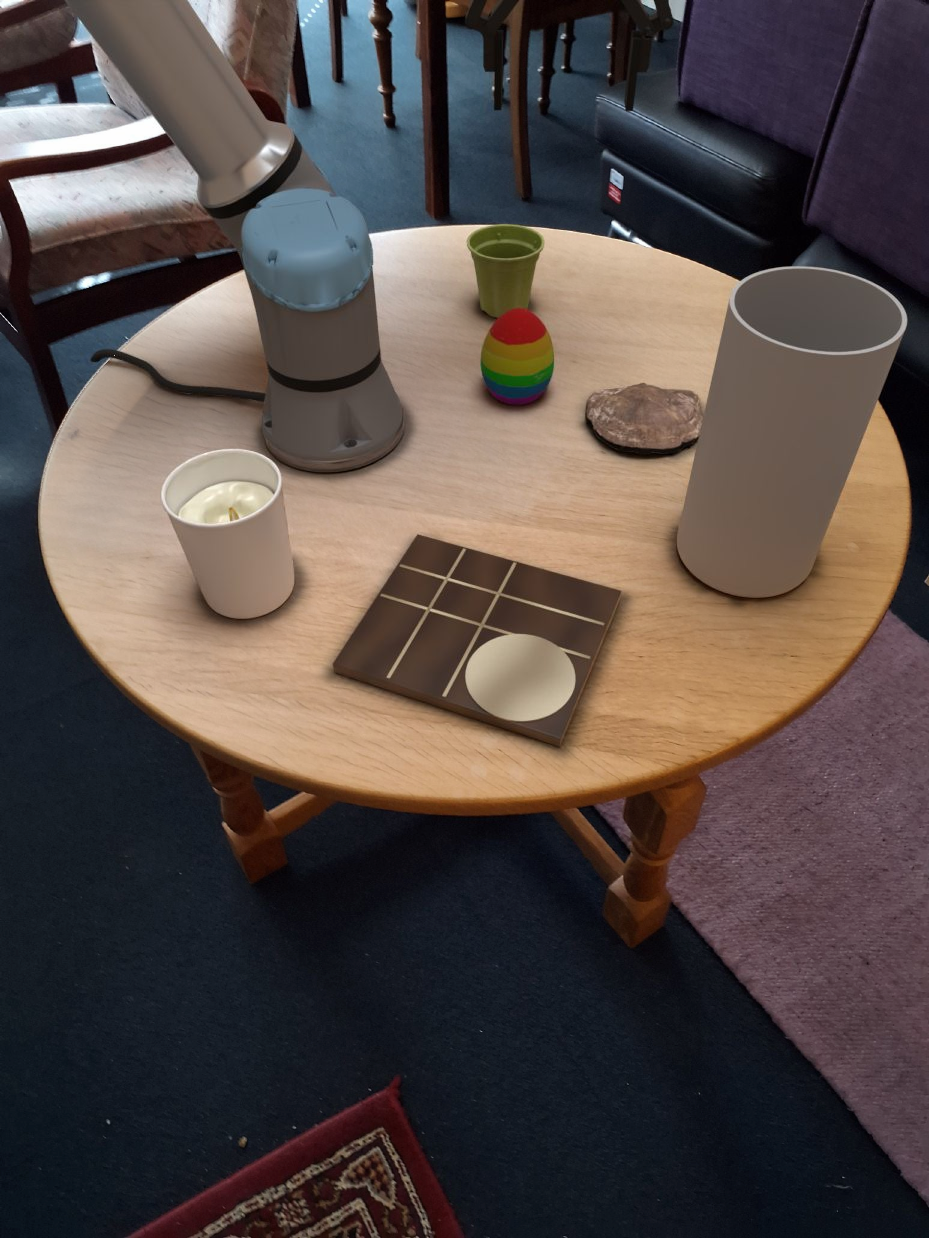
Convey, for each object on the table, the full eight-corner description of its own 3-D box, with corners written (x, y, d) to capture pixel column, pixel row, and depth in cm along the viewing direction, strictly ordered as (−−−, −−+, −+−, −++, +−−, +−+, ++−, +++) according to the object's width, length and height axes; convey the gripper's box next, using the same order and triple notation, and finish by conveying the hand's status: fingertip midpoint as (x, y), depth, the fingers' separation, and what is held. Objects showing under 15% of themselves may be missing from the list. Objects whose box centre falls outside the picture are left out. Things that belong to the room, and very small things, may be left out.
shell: (707, 461, 93) (714, 433, 90) (585, 456, 94) (588, 428, 91) (698, 397, 101) (704, 369, 98) (585, 392, 102) (588, 365, 99)
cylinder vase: (662, 582, 82) (716, 336, 63) (688, 497, 89) (743, 256, 71) (803, 616, 79) (903, 368, 60) (817, 525, 86) (910, 281, 68)
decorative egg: (559, 408, 100) (565, 327, 92) (487, 416, 99) (487, 335, 92) (543, 368, 105) (548, 288, 98) (475, 375, 104) (474, 295, 97)
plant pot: (472, 287, 118) (472, 221, 112) (543, 290, 117) (547, 225, 111) (462, 324, 112) (461, 257, 106) (537, 328, 111) (541, 261, 105)
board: (334, 672, 75) (332, 662, 74) (418, 543, 86) (417, 532, 85) (559, 747, 70) (560, 737, 69) (620, 599, 80) (622, 589, 79)
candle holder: (318, 557, 85) (298, 456, 76) (280, 634, 78) (254, 533, 69) (221, 542, 86) (191, 441, 77) (177, 616, 80) (139, 515, 71)
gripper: (432, -152, 76) (441, 118, 92) (730, -155, 75) (687, 120, 90) (440, -167, 81) (447, 92, 97) (719, -169, 80) (680, 94, 95)
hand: (563, 106), depth 94 cm, fingers open, 13 cm apart
